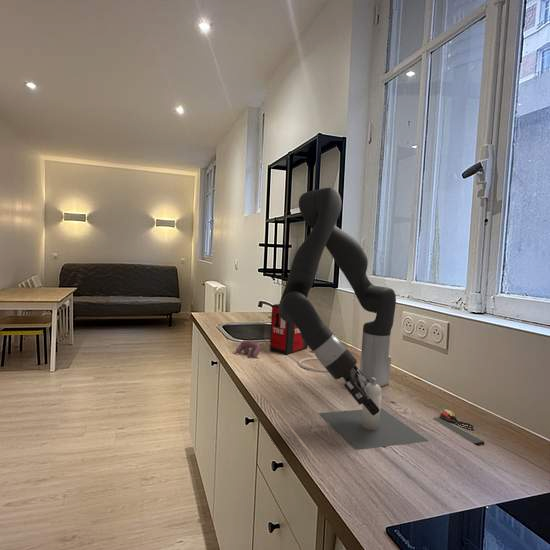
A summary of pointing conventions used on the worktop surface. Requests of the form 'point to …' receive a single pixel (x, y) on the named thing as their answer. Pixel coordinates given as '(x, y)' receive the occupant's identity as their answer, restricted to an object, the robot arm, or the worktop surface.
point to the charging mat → (363, 438)
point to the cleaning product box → (284, 335)
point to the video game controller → (249, 344)
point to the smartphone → (460, 432)
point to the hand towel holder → (310, 367)
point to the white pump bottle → (375, 394)
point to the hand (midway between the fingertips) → (376, 406)
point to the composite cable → (452, 418)
